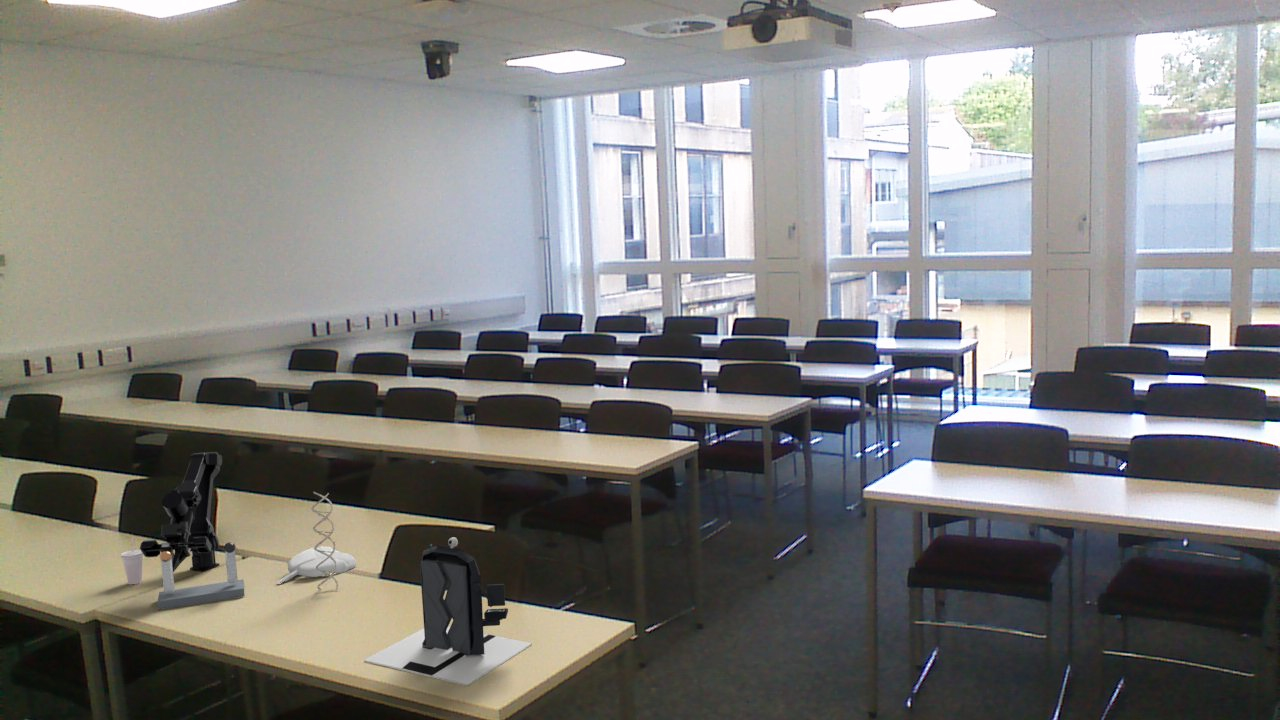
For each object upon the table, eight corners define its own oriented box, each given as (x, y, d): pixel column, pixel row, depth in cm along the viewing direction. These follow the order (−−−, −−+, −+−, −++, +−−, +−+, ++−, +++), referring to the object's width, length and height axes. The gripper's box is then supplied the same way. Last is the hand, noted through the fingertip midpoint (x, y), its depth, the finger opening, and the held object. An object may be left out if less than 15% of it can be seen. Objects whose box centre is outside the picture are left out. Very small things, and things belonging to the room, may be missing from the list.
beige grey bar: (225, 582, 289) (222, 542, 287) (236, 579, 291) (233, 540, 289) (228, 584, 286) (225, 544, 285) (239, 582, 288) (236, 542, 287)
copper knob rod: (165, 590, 283) (161, 549, 282) (176, 589, 284) (173, 549, 282) (161, 594, 280) (157, 553, 279) (173, 593, 280) (169, 552, 279)
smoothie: (150, 579, 305) (146, 536, 303) (138, 586, 298) (134, 542, 297) (131, 579, 305) (127, 536, 304) (119, 586, 299) (114, 542, 297)
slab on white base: (364, 662, 236) (356, 549, 233) (433, 625, 258) (426, 522, 255) (468, 686, 221) (461, 566, 218) (531, 645, 243) (526, 535, 240)
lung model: (362, 565, 311) (297, 597, 291) (328, 558, 321) (262, 588, 301) (359, 546, 310) (293, 576, 290) (325, 539, 320) (259, 568, 299)
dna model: (312, 593, 287) (304, 494, 283) (326, 585, 293) (319, 489, 289) (330, 595, 284) (322, 495, 281) (344, 588, 290) (337, 490, 287)
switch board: (160, 600, 285) (159, 591, 285) (244, 587, 294) (243, 579, 294) (158, 610, 277) (157, 601, 277) (244, 596, 286) (243, 588, 285)
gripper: (139, 514, 286) (128, 561, 277) (205, 510, 289) (196, 556, 279) (151, 533, 295) (140, 579, 285) (215, 528, 297) (207, 574, 288)
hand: (171, 572), depth 284 cm, fingers closed
